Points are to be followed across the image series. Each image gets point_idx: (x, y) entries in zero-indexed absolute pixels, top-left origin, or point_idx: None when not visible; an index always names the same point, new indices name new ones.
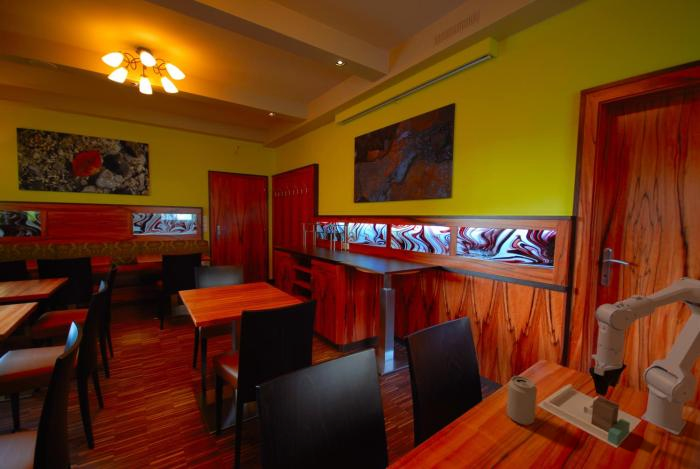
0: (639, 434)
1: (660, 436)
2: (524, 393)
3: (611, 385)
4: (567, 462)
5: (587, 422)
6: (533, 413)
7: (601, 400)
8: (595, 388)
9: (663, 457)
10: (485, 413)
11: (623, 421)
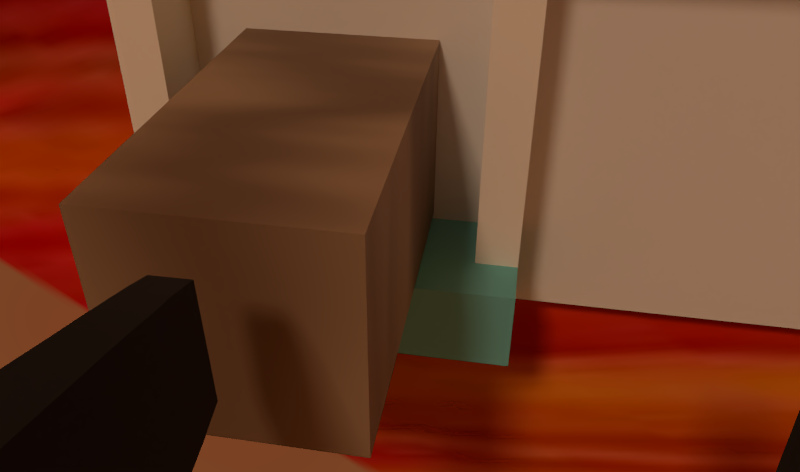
0: (600, 333)
1: (720, 436)
2: None
3: (797, 448)
4: None
5: (146, 31)
6: None
7: (224, 283)
8: (62, 332)
9: (415, 454)
10: None
11: (463, 324)
